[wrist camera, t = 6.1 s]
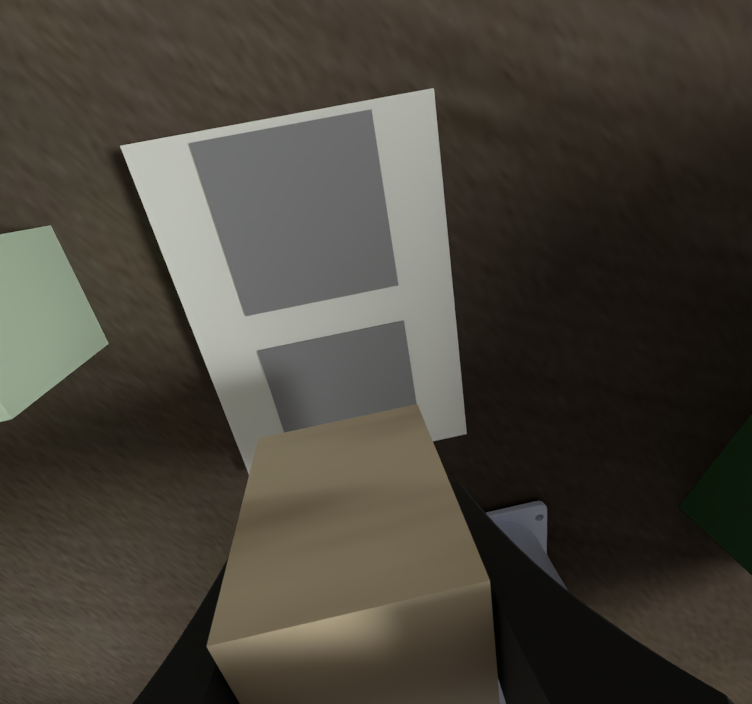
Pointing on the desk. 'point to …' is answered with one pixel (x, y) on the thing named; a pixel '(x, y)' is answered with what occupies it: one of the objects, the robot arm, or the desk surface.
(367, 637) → the wooden toy cube
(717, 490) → the binder
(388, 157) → the board
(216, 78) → the desk surface
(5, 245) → the sage post
